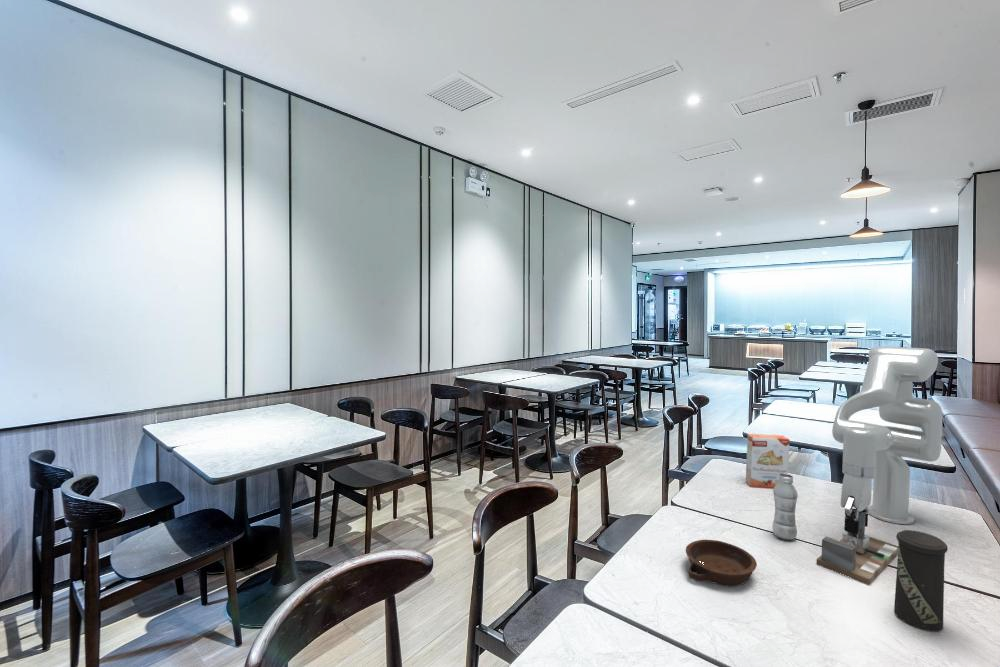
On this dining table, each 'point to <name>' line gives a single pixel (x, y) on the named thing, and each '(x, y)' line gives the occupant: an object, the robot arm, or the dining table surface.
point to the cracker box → (766, 459)
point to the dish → (719, 562)
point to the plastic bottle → (785, 508)
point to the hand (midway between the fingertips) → (856, 528)
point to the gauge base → (856, 558)
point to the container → (920, 580)
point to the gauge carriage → (859, 537)
